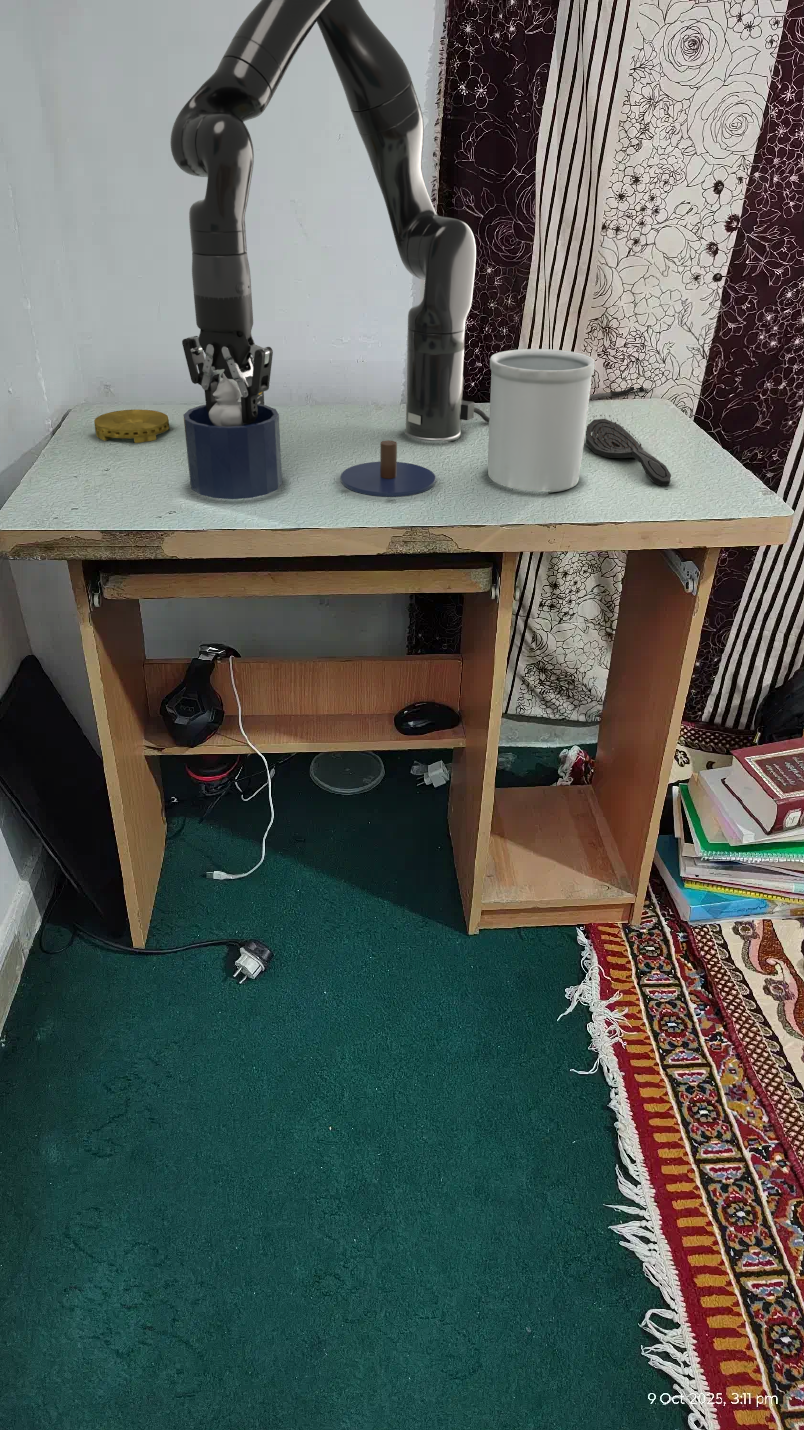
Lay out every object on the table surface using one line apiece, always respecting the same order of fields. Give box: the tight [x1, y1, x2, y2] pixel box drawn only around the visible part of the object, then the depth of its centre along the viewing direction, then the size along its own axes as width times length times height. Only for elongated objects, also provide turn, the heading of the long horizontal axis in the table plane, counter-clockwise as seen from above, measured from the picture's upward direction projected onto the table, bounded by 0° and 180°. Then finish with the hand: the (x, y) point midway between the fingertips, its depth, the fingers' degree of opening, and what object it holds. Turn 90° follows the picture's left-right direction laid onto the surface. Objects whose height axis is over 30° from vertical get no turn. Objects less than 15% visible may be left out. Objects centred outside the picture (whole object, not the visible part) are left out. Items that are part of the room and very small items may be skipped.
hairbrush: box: [585, 414, 672, 488], centre depth 156 cm, size 8×4×25 cm
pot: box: [182, 402, 283, 500], centre depth 141 cm, size 13×13×10 cm
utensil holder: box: [487, 348, 596, 494], centre depth 144 cm, size 15×15×18 cm
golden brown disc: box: [93, 409, 170, 444], centre depth 165 cm, size 12×12×2 cm
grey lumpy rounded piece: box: [209, 373, 244, 427], centre depth 137 cm, size 5×7×8 cm
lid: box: [340, 439, 437, 498], centre depth 144 cm, size 14×14×6 cm
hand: (232, 419), depth 138 cm, fingers closed on grey lumpy rounded piece, 5 cm apart
